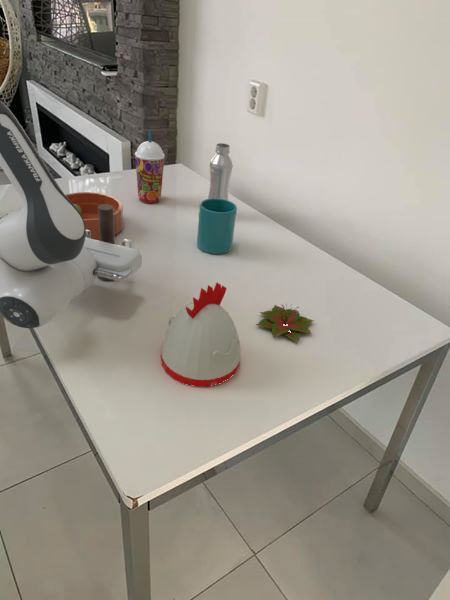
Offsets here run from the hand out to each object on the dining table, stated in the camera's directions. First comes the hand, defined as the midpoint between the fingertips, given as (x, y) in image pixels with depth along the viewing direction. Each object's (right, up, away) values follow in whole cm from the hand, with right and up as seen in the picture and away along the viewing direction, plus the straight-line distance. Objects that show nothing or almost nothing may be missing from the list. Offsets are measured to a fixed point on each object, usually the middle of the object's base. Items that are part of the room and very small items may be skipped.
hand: (108, 237), depth 95 cm
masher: (-1, -8, +4) cm, 9 cm away
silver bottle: (+22, +12, +37) cm, 45 cm away
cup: (+21, +1, +22) cm, 30 cm away
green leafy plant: (+36, -18, -4) cm, 41 cm away
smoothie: (+2, +17, +41) cm, 45 cm away
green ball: (-15, +10, +23) cm, 29 cm away
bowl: (-11, +6, +22) cm, 26 cm away
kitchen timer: (+20, -24, -15) cm, 34 cm away
